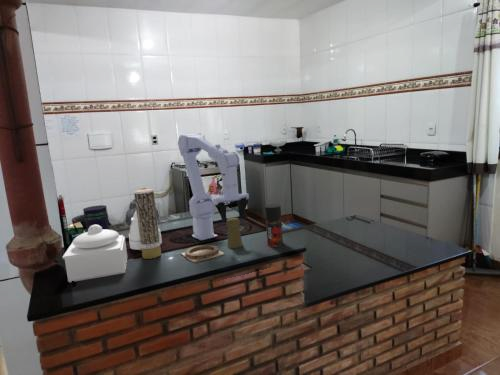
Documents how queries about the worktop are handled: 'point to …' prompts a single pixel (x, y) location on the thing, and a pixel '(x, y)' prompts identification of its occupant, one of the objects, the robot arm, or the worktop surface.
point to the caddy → (202, 253)
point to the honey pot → (137, 234)
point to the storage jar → (96, 216)
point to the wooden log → (147, 223)
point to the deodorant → (274, 225)
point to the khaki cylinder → (234, 233)
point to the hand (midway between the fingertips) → (233, 219)
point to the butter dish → (96, 254)
